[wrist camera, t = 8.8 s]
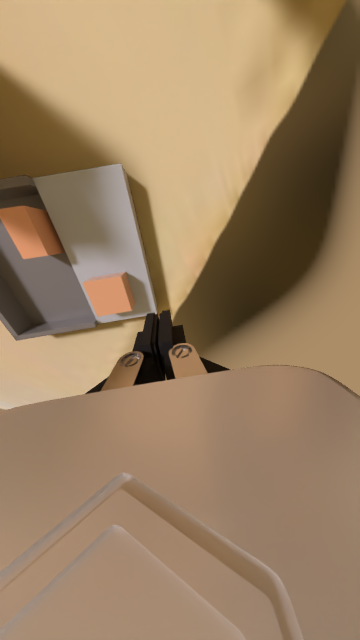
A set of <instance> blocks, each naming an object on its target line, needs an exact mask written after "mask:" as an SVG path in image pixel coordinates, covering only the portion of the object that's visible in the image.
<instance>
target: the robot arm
mask: <svg viewBox="0 0 360 640" xmlns="http://www.w3.org/2000/svg"><path fill="white" fill-rule="evenodd" d="M165 374H166V378H167V380H165ZM0 640H360V396H359V395H357V394H356V393H354V392H353V391H352V390H350V389H349V388H348V387H346V386H345V385H343V384H342V383H340V382H339V381H337V380H335V379H334V378H332V377H330V376H328V375H326V374H324V373H322V372H319V371H316V370H313V369H309V368H304V367H297V366H289V365H267V366H255V367H247V368H241V369H233V370H230V369H227V368H225V367H222V366H220V365H218V364H215V363H213V362H211V361H208V360H206V359H204V358H201V357H199V356H198V354H197V352H196V350H195V348H194V347H193V346H192V345H190V344H187V343H186V340H185V335H184V330H183V325H179V326H173V325H172V320H171V314H170V310H167V311H162V313H160V317H158V314H155V313H148V314H147V316H146V320H145V324H144V329H143V332H138V334H137V337H136V341H135V344H134V348H133V351H132V352H129V353H126V354H125V355H123V356H122V357H120V359H119V360H118V361H117V363H116V365H115V367H114V368H113V370H112V372H111V374H110V375H109V377H108V378H106V379H105V380H103V381H102V382H101V383H99V384H98V385H97V386H95V387H94V388H92V389H91V390H90V391H88V392H87V393H85V394H83V395H78V396H72V397H66V398H61V399H55V400H49V401H44V402H39V403H34V404H29V405H24V406H19V407H15V408H12V409H8V410H4V411H1V412H0Z"/></svg>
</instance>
